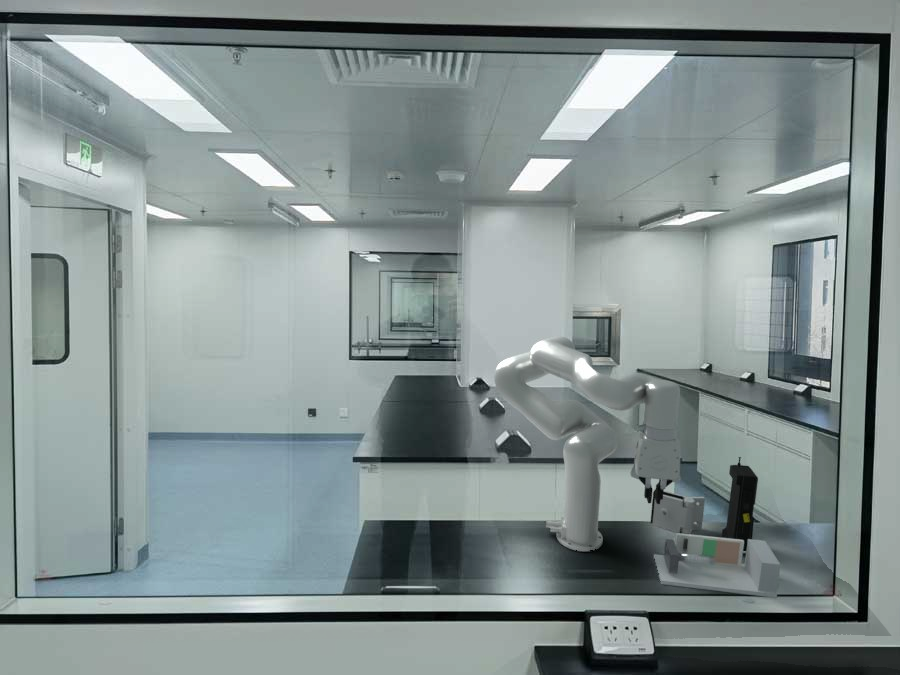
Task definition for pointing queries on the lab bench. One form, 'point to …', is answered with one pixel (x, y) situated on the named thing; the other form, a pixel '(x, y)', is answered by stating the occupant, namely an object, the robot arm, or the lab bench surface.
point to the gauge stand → (724, 566)
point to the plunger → (682, 556)
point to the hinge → (678, 512)
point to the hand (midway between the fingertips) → (653, 500)
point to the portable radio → (741, 504)
